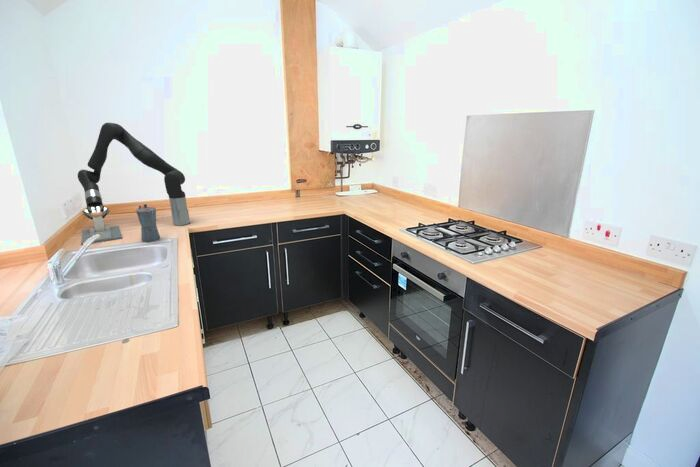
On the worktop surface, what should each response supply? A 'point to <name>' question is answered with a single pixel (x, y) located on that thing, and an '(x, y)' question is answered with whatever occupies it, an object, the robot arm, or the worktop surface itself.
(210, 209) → the worktop surface
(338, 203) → the worktop surface
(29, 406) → the worktop surface
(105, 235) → the mount
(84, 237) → the board
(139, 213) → the moka pot
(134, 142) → the robot arm
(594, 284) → the worktop surface
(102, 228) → the grey upright post
